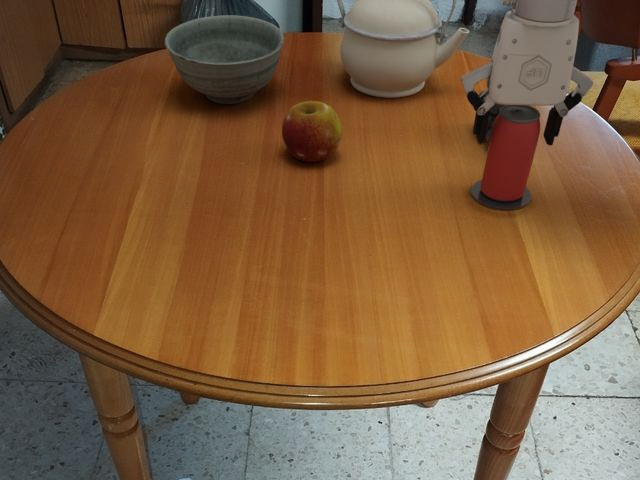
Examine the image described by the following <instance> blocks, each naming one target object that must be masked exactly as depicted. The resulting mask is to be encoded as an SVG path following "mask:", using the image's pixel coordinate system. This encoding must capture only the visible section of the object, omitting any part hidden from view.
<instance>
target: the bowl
mask: <svg viewBox="0 0 640 480" xmlns="http://www.w3.org/2000/svg"><path fill="white" fill-rule="evenodd" d="M284 44H285V36H284V33H283V31H282V30H281V29H280V28H279V27H278V26H276V25H275V24H274V23H271V22H269V21H267V20H264V19H259V18H256V17H252V16H251V17H250V16H245V15H234V14H232V15H229V14H228V15H223V14H222V15H221V14H220V15H212V16H210V15H209V16H204V17H198V18H194V19H192V20H188V21H186V22H182V23H180V24H178V25H177V26H175V27H173V28H171V30H170V31H168V32H167V34H166V36H165V38H164V46H165V48H166V50H167V51H168V53H169V56H170V59H171V60H172V62H173V64H174V66H175V68H176V70H177V73H178V74H179V76H180V77H181V79H182V80H183V81H184V82H185V84H187V85H188V86H189V87H191V88H192V89H193V90H194V91H197V92H198V93H201V94H203V95H205V97H206V98H207V99H208V100H210V101H211V102H214V103H218V104H227V105H232V104H240V103H244V102H246V101H248V100H250V99H251V98H253V97H254V95H255V93H256V92H258V91H259V90H261V89H262V88H264V87H266V85H267V84H269V82H270V81H271V80H272V78H273V76H274V75H275V73H276V71H277V69H278V65H279V61H280V58H281V57H280V56H281V53H282V49H283V46H284Z"/></svg>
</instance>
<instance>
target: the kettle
mask: <svg viewBox="0 0 640 480" xmlns="http://www.w3.org/2000/svg"><path fill="white" fill-rule="evenodd" d="M336 2H337V5H338V9H339V13H340V15H341V17H338V19H337V21H338V23H339V24H340V23H341V26H340V27H341V29H344V31H343V34H342V38H341V43H340V51H339V53H340V60H341V63H342V66H343V68H344V70H345V71H346V72H347V74H348V75H349V76H350V83H351V85H352V87H353V88H354V89H355V90H357V91H359V92H361V93H362V94H365V95H368V96H371V97H375V98H383V99H396V98H397V99H398V98H405V97H410V96H413V95H415V94H417V93H419V92H420V91H421V90H423V88H424V87H425V85H426V84H425V83H426V81H427V79H428V78H429V77H430V76H431V75H432V74H433V73H434V72H435V71H436V70H437V69H438V68H440V67H441V66H442V65H444V64H445V63H446V62H447V61H449V60H450V59H451V58H452V56H453V55H455V53H456V51H457V50H458V49H459V47H460V46H461V45H462V43H463V42H464V40H465V39H466V38H467V36H468V35H469V33H470V30H469V29H467V28H465V27H459V28H458V29H457V30H456V31H455V33H454V34H453V35H452V36H451V37H449V35H448V33H445V30H446V27H447V26H448V23H449V22H450V20H451V18H452V15H453V14H454V12H455V9H456V4H457V0H452V6H451V9H450V12H449V14H448V17H447V18H446V21H445V22H444V24H443V23H442V19H441V18H440V17H439V16H438V13H437V10H436V7H435V6H434V4H433V2H431V0H355V1H354V2H353V3H352V5H351V7H350V9H349V11H348V12H346V10H345V7H344V3H343V0H336ZM442 25H443V26H442ZM440 30H441V31H440ZM439 31H440V32H439ZM448 38H449V39H448ZM444 40H446V41H444Z"/></svg>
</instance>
